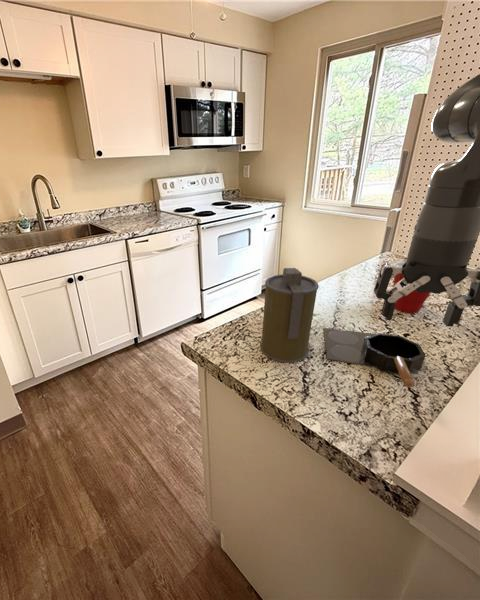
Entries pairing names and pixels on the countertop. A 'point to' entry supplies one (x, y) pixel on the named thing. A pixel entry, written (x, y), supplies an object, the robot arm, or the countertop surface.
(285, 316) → the canister
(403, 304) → the plastic cup
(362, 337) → the grey slab
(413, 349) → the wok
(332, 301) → the countertop surface
